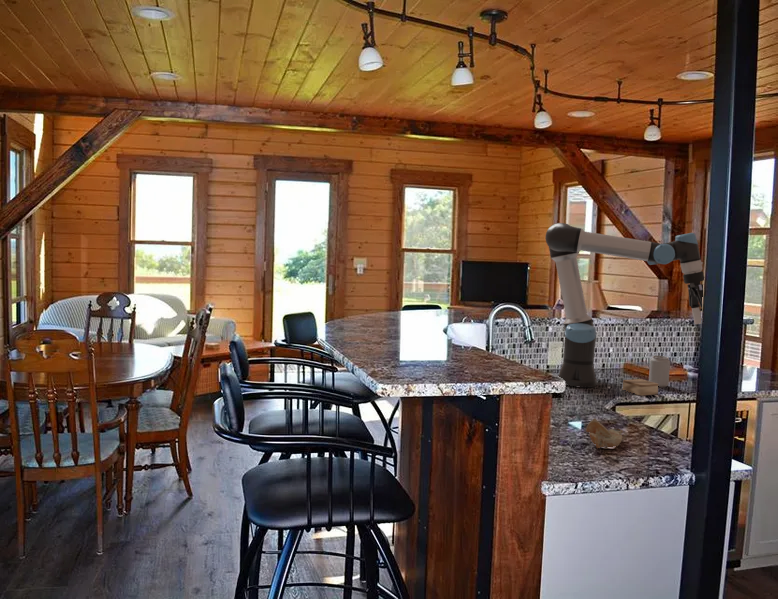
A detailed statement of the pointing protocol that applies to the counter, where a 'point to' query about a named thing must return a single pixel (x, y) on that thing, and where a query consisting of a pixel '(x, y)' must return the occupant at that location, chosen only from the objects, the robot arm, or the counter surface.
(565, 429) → the counter surface
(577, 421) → the counter surface
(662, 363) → the can
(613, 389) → the counter surface
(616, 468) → the counter surface
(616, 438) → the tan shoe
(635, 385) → the pedestal
